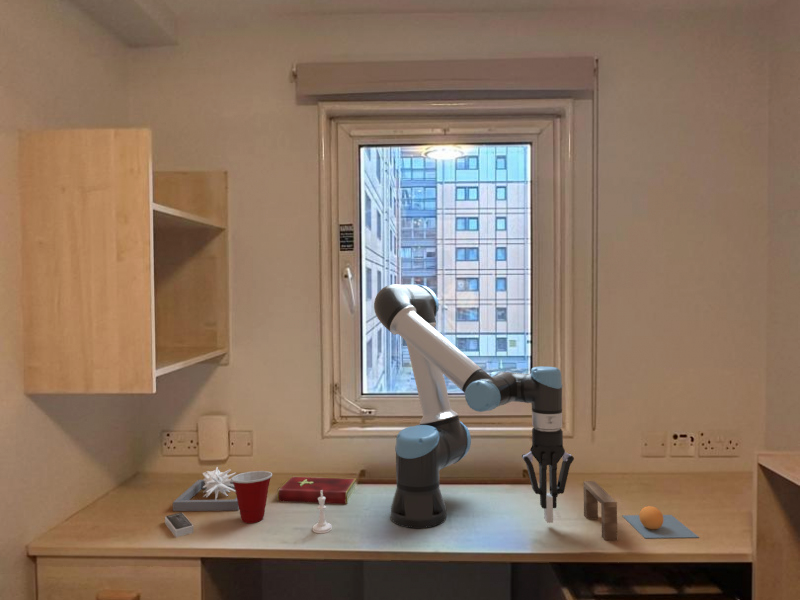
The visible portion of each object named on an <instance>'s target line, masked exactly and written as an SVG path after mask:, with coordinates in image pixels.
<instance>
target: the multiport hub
mask: <svg viewBox="0 0 800 600" xmlns="http://www.w3.org/2000/svg"><path fill="white" fill-rule="evenodd" d="M164 524H165V525H166V527H167V528H168V530H169V531H170V532H171V534H174V535H173V536H174V537H175V538H180V537H183V535H184V536H186V534H187V535H190V533H191V534H193V533H194V524H193V523H192V522H191V521H190V520H189V518H188V517H187V516H186V515H185V514H184V513H183V511H180V512H177V513H173V514H169V515H165V517H164ZM179 536H180V537H179Z"/></svg>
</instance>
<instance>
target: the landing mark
mask: <svg viewBox="0 0 800 600" xmlns="http://www.w3.org/2000/svg"><path fill="white" fill-rule="evenodd" d="M662 515H663V524H662V526H661V527H660V528H658V529H656V530H651V529H648V528H646V527H645V526H644V525H643V524H642V523H641V521H640V518H639V514H628V515H627V514H626V515H622V518H624V519H625V520H626V521H627V522H628V523H629V524H630V525H631V526H632V527H633V528H634V530H636V531H637V532H638V533H639V535H641V536H642V537H643V538H644V539H694V538H695V539H699V538H700V537H699V536H698V535H697V534H696V533H695V532H694V531H692V530H691V529H690V528H689V527H687V526H686V525H685V524H683V523H682V522H681V521H680V520H678V519H677V518H676V517H675V516H673V515H672V514H662Z"/></svg>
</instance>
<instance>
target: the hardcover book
mask: <svg viewBox="0 0 800 600" xmlns="http://www.w3.org/2000/svg"><path fill="white" fill-rule="evenodd" d="M356 480H357V478H353V477H352V478H350V477H330V476H329V477H328V476H327V477H325V476H323V477H322V476H297V475H294V476H293V475H291V476H290V477H289V478H288V479H287V480H286V481H285V482H284V483H283V484H282V485H280V487H279V488H278V489H277V502H284V503H285V502H289V503H290V502H291V503H294V502H295V503H311V504H312V503H314V504H319V501H318V497H321V494H320V492H321V490H323V496H324V497H325V498H326V499H325V503H324V504H333V505H334V504H335V505H336V504H337V505H348V502H349V500H350V498H351V496H352V495H353V494H354V492H355V490H356Z"/></svg>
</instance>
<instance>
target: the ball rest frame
mask: <svg viewBox="0 0 800 600" xmlns="http://www.w3.org/2000/svg"><path fill="white" fill-rule="evenodd" d="M230 483H231V484H233V485H234V483H233V482H230ZM203 486H205V482H204V479H197V480H196V481H195V482H194V483H193V484H192V485H191V486H189V487H188V489H186V490H185V491H184V492H183V493H182V494H181V495H180V496H178V497H177V498H176V499H175V500H174V501H172V512H199V511H200V512H205V511H206V512H211V511H212V512H213V511H214V512H215V511H218V512H220V511H221V512H222V511H240V510H239V506H238V501H237V496H236V497H235V498H234V499H216V500H215V499H193V498H194V497H195V496H196V495H197V494H198V493H199V492H200V491H201V490H206V487H205V488H203ZM228 487H230V488H232V489H234V490H235V487H231V486H228ZM193 496H194V497H193ZM192 497H193V498H192ZM191 498H192V499H191ZM190 499H191V500H190Z"/></svg>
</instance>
